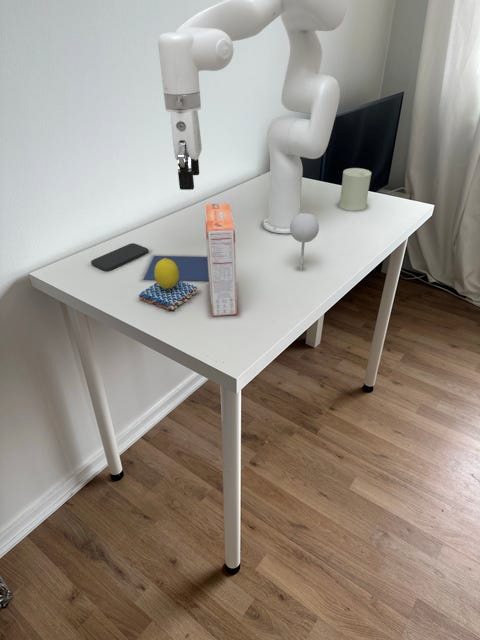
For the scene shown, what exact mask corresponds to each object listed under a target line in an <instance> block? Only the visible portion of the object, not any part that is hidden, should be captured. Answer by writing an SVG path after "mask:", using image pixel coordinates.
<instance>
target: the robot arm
mask: <svg viewBox="0 0 480 640" xmlns="http://www.w3.org/2000/svg"><path fill="white" fill-rule="evenodd" d="M346 12H347V4H346V0H222V1H221V2H219V3H217V4H214V5H212V6H209V7H208V8H205V9H203V10H201V11H200V12H198V13H196V14H195V15H193V16H192V17H190V18H189V19H187V20H186V21H185V22H183V24H181V25H180V26H178V28H177V29H176V30H175V31H168V32H163V33H162V34H160V35H159V37H158V39H157V44H158V45H157V46H158V47H157V48H158V55H159V56H158V57H159V63H160V72H161V82H162V89H163V100H164V108H165V111H166V112H168V113H170V124H171V132H172V136H171V137H172V144H173V145H172V146H173V153H174V158H175V160H176V161H177V175H178V185H179V190H181V191H189V190H190V191H192V190H194V189H195V182H194V181H195V180H194V176H199V175H200V164H199V163H200V162H199V158H200V155H201V153H202V148H203V147H202V138H201V129H200V119H199V113H198V111H200V110H201V108H202V105H201V104H202V103H201V102H202V101H201V91H200V76H199V75H200V74H199V72H202V71H208V72H209V71H210V72H217V71H221V70H222V69H225V68H226V67H227V66H228V65H229V64H230V63H231V61H232V59H233V56H234V43H233V42H236V41H242V40H245V39H246V40H247V39H249V38H252V37H255V36H257V35H259V34H260V33H261V32H262V31H263V30H264V29H266V28H267V27H268V26H269V25H270V24H271V23H272V22H274V21H275V20H276V19H277V18H279V17H280V19H281V22H282V24H283V27H284V29H285V31H286V34H287V37H288V42H289V55H288V56H289V57H288V62H287V67H286V71H285V74H284V80H283V85H282V90H281V99H280V100H281V104H282V106H283V108H284V109H286V110H288V111H291V112H296V113H301V114H307V115H310V118H309V119H308V118H302V117H299V116H298V117H296V116H292V115H291V116H290V115H281V116H277V117H275V118H274V119H273V120H272V121H271V122H270V124H269V125H268V128H267V133H266V138H267V139H266V140H267V146H268V152H269V153H268V154H269V187H268V188H269V190H268V216H267V217H265V219H263V224H262V225H263V227H264V229H265V230H267V231H269V232H271V233H276V234H282V235H283V234H291V232H290V224H291V222H292V220H293V219H294V217H296V216H297V215H299V214H302V213H303V212H302V211H301V201H302V186H303V184H302V182H303V173H304V172H303V171H304V168H303V162H302V159H301V158H305V159H309V160H310V159H311V160H316V159H319V158H321V157H322V156H323V155H324V154H325V152H326V150H327V148H328V145H329V142H330V138H331V135H332V131H333V127H334V125H335V124H334V123H335V120H336V115H337V112H338V108H339V105H340V104H339V103H340V97H341V95H340V94H341V93H340V92H341V90H340V89H341V88H340V85H339V82H338V80H337V79H336V78H335V77H334V76H332V75H328V74H320V68H321V64H322V59H323V49H322V44H321V41H320V39H319V37H318V34H317V32H331V31H334V30H336V29H338V28H339V27H340V25H341V24H342V23H343V21H344V19H345V17H346ZM313 216H314V217H315V215H313ZM315 218H316V217H315Z"/></svg>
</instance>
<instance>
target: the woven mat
mask: <svg viewBox="0 0 480 640" xmlns="http://www.w3.org/2000/svg"><path fill="white" fill-rule="evenodd" d="M197 289H198V287H197V286H195V285H194V284H189V283H188V282H184V281H178V282H177V284H176V285H175V286H174V287H172V288H170V289H166V288H162V287H161V286H159V285H158V283H157V282H154V283H153V284H152V285H150V286H149V287H147V288H146V289H145V290H143V291H141V293H140V294H139V295H138V297H139V299H141V300H142V301H144V302H147V303H149V304H153V305H157V306H158V307H160V308H163V309H166V310H170V311H173V310H174V309H178V306H180V305H182V304H183V303H184V302H185V303H188V299H189V298H191V299H192V297H193V295H195V294H198V290H197Z"/></svg>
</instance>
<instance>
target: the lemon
mask: <svg viewBox="0 0 480 640" xmlns="http://www.w3.org/2000/svg"><path fill="white" fill-rule="evenodd" d="M154 275H155V280H154V281H155V283H158V285H159V286H161V287H162V288H166V289H170V288H172V287H174V286H175V285H176V284H177V282H178V279H179V272H178V268H177V266H176V264H175V263H174V262H173V261H172V260H170V259H166V258H164V259H162V260H160V261H159V262H158V263H157V264H156V266H155V271H154Z"/></svg>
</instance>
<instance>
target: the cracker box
mask: <svg viewBox="0 0 480 640" xmlns="http://www.w3.org/2000/svg"><path fill="white" fill-rule="evenodd" d="M204 212H205V213H204V217H205V218H204V219H205V220H204V221H205V239H206V240H205V242H206V243H205V244H206V257H207V259H208V273H209V281H208V284H209V285H208V286H209V294H210V297H209V298H210V305H211V313H212V317H221V316H237V315H238V299H237V298H238V297H237V296H238V295H237V261H236V257H237V256H236V229H235V222H234V218H233V213H232V208H231V204H230V203H212V204H211V203H210V204H205V205H204Z"/></svg>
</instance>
